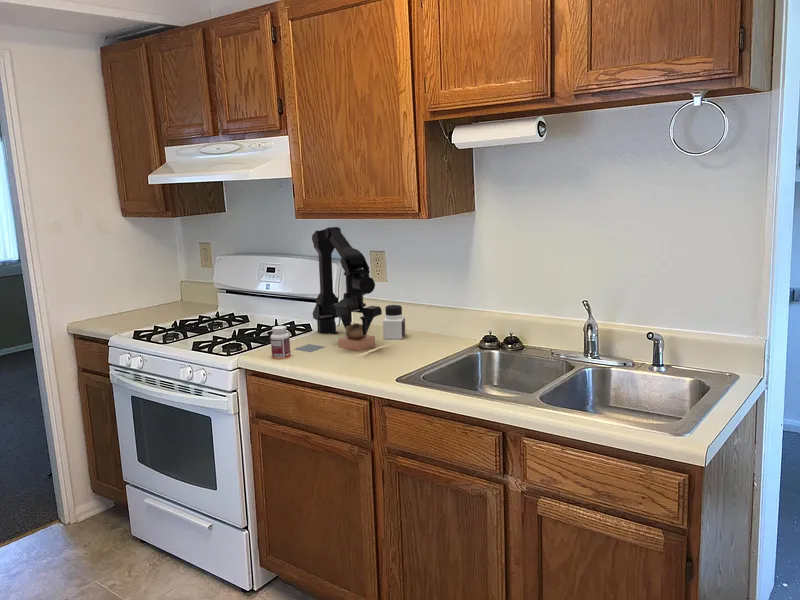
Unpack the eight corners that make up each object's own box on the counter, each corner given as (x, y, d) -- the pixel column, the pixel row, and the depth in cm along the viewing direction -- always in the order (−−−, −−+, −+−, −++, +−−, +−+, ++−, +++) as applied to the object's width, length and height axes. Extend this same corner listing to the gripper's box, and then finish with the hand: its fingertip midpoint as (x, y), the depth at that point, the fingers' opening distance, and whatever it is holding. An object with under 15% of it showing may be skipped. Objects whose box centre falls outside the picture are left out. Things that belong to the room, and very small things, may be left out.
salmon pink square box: (338, 350, 244) (338, 338, 243) (354, 344, 251) (354, 333, 250) (359, 353, 239) (358, 341, 238) (375, 347, 246) (374, 336, 245)
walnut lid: (342, 336, 243) (341, 325, 242) (354, 331, 249) (354, 321, 248) (358, 338, 239) (357, 327, 238) (370, 333, 245) (370, 323, 244)
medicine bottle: (402, 339, 256) (401, 307, 254) (383, 339, 257) (382, 307, 255) (405, 334, 263) (404, 303, 260) (386, 334, 264) (385, 303, 262)
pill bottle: (287, 355, 238) (285, 324, 236) (293, 360, 233) (291, 327, 231) (269, 358, 235) (267, 326, 233) (275, 363, 230) (273, 330, 228)
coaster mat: (293, 352, 243) (293, 349, 243) (308, 346, 249) (308, 344, 249) (310, 354, 239) (310, 352, 238) (326, 349, 245) (326, 346, 245)
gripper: (318, 291, 240) (320, 335, 243) (361, 295, 229) (363, 342, 232) (339, 286, 249) (341, 329, 252) (381, 290, 238) (383, 335, 241)
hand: (356, 333), depth 244 cm, fingers closed on walnut lid, 7 cm apart
